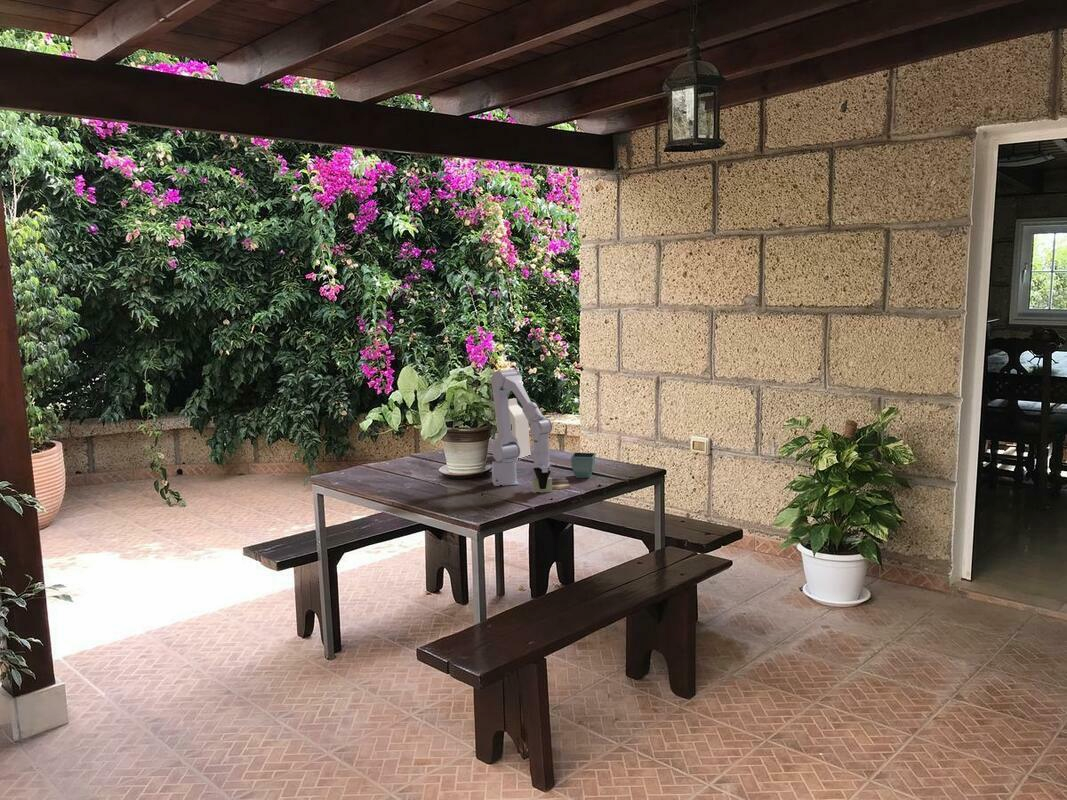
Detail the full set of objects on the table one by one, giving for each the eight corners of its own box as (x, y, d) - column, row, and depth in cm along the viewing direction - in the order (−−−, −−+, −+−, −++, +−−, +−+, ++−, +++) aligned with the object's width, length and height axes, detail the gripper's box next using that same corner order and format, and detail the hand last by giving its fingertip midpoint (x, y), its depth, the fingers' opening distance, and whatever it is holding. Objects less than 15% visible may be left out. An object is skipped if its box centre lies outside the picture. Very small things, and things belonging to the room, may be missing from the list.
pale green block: (533, 492, 318) (533, 479, 318) (532, 491, 321) (532, 478, 320) (552, 491, 319) (551, 478, 319) (551, 490, 322) (550, 477, 321)
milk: (516, 460, 379) (515, 401, 375) (494, 458, 385) (493, 400, 381) (530, 455, 389) (529, 398, 385) (509, 453, 395) (507, 396, 391)
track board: (543, 489, 322) (543, 484, 322) (538, 482, 334) (538, 477, 334) (570, 488, 324) (570, 482, 324) (564, 481, 336) (564, 475, 335)
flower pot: (593, 479, 338) (592, 457, 337) (570, 479, 340) (570, 456, 338) (596, 474, 346) (595, 452, 345) (574, 474, 348) (574, 452, 347)
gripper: (555, 454, 311) (556, 491, 313) (548, 447, 326) (549, 482, 327) (536, 455, 310) (537, 492, 312) (530, 448, 325) (531, 483, 326)
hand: (542, 487), depth 320 cm, fingers closed on pale green block, 2 cm apart
